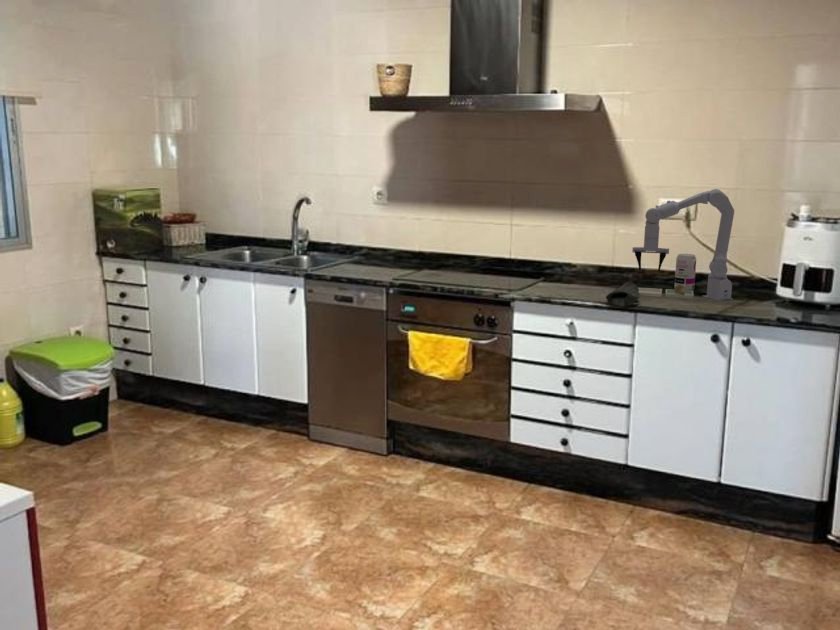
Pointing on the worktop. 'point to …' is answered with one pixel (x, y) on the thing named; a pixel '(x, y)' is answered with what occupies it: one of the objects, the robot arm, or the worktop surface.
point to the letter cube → (679, 289)
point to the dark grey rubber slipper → (624, 295)
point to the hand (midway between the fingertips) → (649, 270)
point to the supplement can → (685, 270)
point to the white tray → (650, 292)
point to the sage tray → (671, 294)
